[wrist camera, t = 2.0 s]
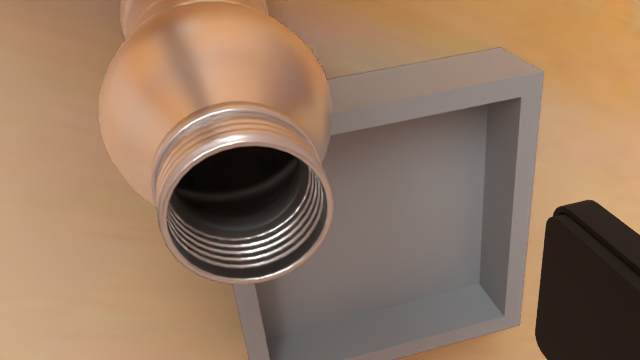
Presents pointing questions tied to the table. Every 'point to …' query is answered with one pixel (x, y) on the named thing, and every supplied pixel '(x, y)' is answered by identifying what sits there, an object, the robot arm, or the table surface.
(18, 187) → the table surface
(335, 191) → the bin
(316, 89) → the plastic bottle
